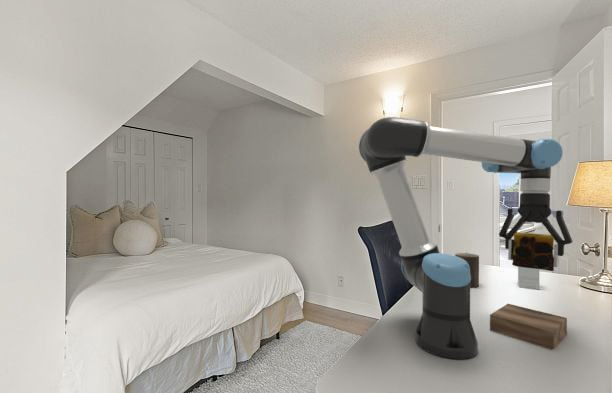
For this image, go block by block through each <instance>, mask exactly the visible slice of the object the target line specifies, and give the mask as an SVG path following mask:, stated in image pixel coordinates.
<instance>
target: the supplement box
mask: <svg viewBox="0 0 612 393" xmlns="http://www.w3.org/2000/svg"><path fill="white" fill-rule="evenodd" d="M517 284H518V287H519V288H523V289H529V290H540V269H533V268H524V267H517Z"/></svg>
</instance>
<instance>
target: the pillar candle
mask: <svg viewBox="0 0 612 393" xmlns="http://www.w3.org/2000/svg"><path fill="white" fill-rule="evenodd" d="M454 256H457V257H460V258H462V259H464V260H465V261H466V262H467V263H468V264H469V267H470V274H471V281H470V289H476V288H479V286H480V255H478V254H475V253H468V252H456V253H455V254H454Z"/></svg>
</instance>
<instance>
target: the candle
mask: <svg viewBox="0 0 612 393" xmlns="http://www.w3.org/2000/svg"><path fill="white" fill-rule="evenodd" d="M513 239H514V251H513V258H512V259H513V260H512V266H514V267H517V268H518V267H524V268H533V269H539V270H541V271H542V270H543V271H548V272H554V270H555V267H554V242H555V240H554V237H552V235H551V234H546V233H545V234H544V233H530V232H519V231H517V232H516V233H515V234H514V236H513Z"/></svg>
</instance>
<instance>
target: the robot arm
mask: <svg viewBox="0 0 612 393" xmlns="http://www.w3.org/2000/svg"><path fill="white" fill-rule="evenodd" d="M358 153H359V154H360V155H359V156H361V158H362V160H363V161H365V163H366V166H367V168H368V171H369V173H370V174H371V175H373V176H375V177H376V179H377V181H378V183H379V186H380V189H381V193H382V195H383V198H384V201H385V204H386V205H387V206H386V207H387V209H388V212H389V215H390V217H391V220H392V223H393V225H394V228H395V231H396V234H397V237H398V240H399V242H400V246H401V248H400V250H399V251H398V254H399V258H400V260H401V266H400V267H401V271H402V275H403V276H404V278H405V279H406V281H408V283H409V284H411V285H412V286H413V287H415V288H417V290H419V291H420V292H421V294H422V312H421V315H420V318H419V321H418V324H417V326H416V327H417V328H416V329H415V342H416V345H418V346H419V347H420V346H421V347H422V350H424V349H425V350H424V351H426V350H427V351H426V352H428V351H429V352H428V353H430V352H431V353H430V354H432V353H434V354H433V355H435V354H436V356H438V355H439V356H438V357H441V356H442V358H446V359H453V360H466V359H470V358H474V357H475V356H476V355H477V354H478V353H479V351H478V350H479V348H478V345H479V344H478V339H477V337H476V334H475V329H474V328H473V325H472V321H471V288H470V281H471V274H470V267H469V264H468V263H467V262H466V261H465V260H464V259H462V258H460V257H457V256H455V255H451V254H448V253H441V252H440V250H439V247H438V244H437V243H436V241H433V240H431V239H430V238H429V234H428V232H427V229H426V226H425V223H424V221H423V218H422V214H421V213H420V210H419V207H418V204H417V202H416V198H415V195H414V192H413V190H412V188H411V184H410V182H409V179H408V176H407V174H406V170H405V168H404V166H405V164H406V162H407V158H406V157H414V158H415V157H416V158H418V157H420V156H422V155H426V156H427V155H428V156H434V157H435V156H436V157H443V158H450V159H456V160H457V159H458V160H463V161H472V162H478V163H479V162H480V163H481V167H482V169H483V170H484V171H485V172H487V173H493V174H501V173H502V174H503V173H504V174H520V184H519V185H520V187H519V188H520V189H519V191H520V192H521V193H520V194H519V207H518V208H513V207H511V208H507V215H506V218H505V220H504V222H503V225H502V226H501V229H500V230H499V234H498V236H499V237H501V238H504V239H505V241H504V242H505V246H504V247H505V249H506V250H508V252H507V254H508V256H507V260H510V261H513V259H512V258H513V251H514V234H515V233H516V232H519V230H520V229H521V228H522V226H523V225H524V224H525V223H526V222H527V223H537V224H542V225H543V227H545V229H546V230H547V231H548V233H549V235H552V237H554V242H555V243H556V244H553V247H554V249H553V257H554V268H558V267H560V257H563V256H564V254H565V245H570V244H573V239H572V237H571V234H570V232H569V229H568V227H567V225H566V222H565V220H564V211H563V210H552V209H551V207H550V206H551V205H550V204H551V194H550V192H551V182H552V181H551V179H552V176H551V175H552V174H551V173H552V167H554V166H556V165H558V164H559V162H560V161H561V160H562V157H563V147H562V145H561V143H560V142H559V141H557V140H556V139H553V138H540V139H536V140H531V139H523V138H516V137H510V136H509V137H508V136H501V135H493V134H487V133H481V132H475V131H473V132H472V131H468V130H467V131H466V130H459V129H452V128H446V127H441V126H440V127H438V126H433V125H432V126H431V125H429V124H428V122H427V121H425V120H419V119H418V120H417V119H411V118H404V117H396V116H395V117H394V116H393V117H389V116H388V117H383V118H380V119H378V120H376V121H374V123H372V125H371V124H370V126H369V127H368V128H367V130H365V131H364V133H363V134H362V135H361V137H360V139H359V144H358ZM517 214H519V216H520V218H519V219H518V221H517V222H516V223H515V224H514V226H512V228H511V229H510V230H509V228H510V227H511V223H512V222H513V219H514V217H515V216H516V215H517ZM550 215H552V216H553V218H555V220H556V222H557V225H558V226H559V229H560V233H561V234H562V236H560V234H559V233H558V231H557V230H556V229H555V228H554V225H552V224H551V222H550V221H549V217H550ZM508 230H509V231H508ZM562 237H563V238H562ZM421 347H420V348H421Z"/></svg>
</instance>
